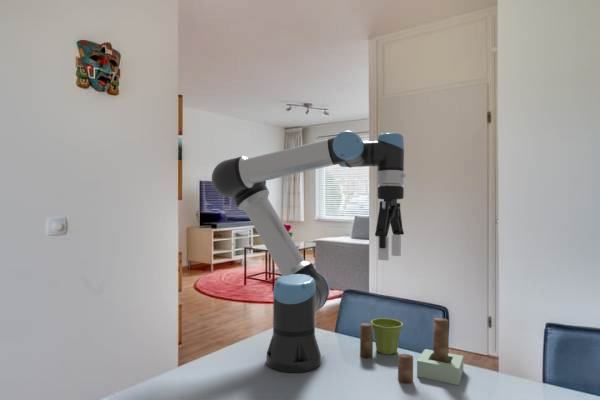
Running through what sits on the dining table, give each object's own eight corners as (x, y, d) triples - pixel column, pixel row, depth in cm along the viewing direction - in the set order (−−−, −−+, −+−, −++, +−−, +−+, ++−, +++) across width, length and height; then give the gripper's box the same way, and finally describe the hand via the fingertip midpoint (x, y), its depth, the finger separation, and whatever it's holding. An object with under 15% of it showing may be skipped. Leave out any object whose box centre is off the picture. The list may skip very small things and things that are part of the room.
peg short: (396, 381, 96) (396, 357, 96) (400, 376, 99) (400, 352, 99) (411, 384, 94) (411, 360, 94) (414, 379, 97) (414, 355, 98)
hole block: (417, 376, 99) (417, 360, 99) (424, 363, 108) (424, 349, 108) (458, 385, 94) (458, 368, 94) (463, 370, 103) (463, 355, 103)
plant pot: (403, 358, 112) (403, 328, 112) (370, 355, 114) (370, 325, 114) (401, 347, 121) (401, 319, 121) (371, 344, 123) (371, 317, 123)
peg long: (432, 374, 100) (432, 320, 101) (434, 369, 104) (434, 317, 104) (446, 377, 99) (446, 322, 99) (449, 372, 102) (448, 319, 102)
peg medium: (358, 356, 112) (358, 325, 113) (362, 353, 115) (362, 322, 116) (370, 359, 111) (370, 327, 111) (374, 355, 114) (374, 324, 114)
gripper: (391, 182, 102) (391, 263, 101) (412, 188, 124) (412, 254, 123) (364, 182, 105) (363, 261, 105) (389, 188, 127) (389, 253, 126)
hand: (390, 257), depth 114 cm, fingers open, 13 cm apart
